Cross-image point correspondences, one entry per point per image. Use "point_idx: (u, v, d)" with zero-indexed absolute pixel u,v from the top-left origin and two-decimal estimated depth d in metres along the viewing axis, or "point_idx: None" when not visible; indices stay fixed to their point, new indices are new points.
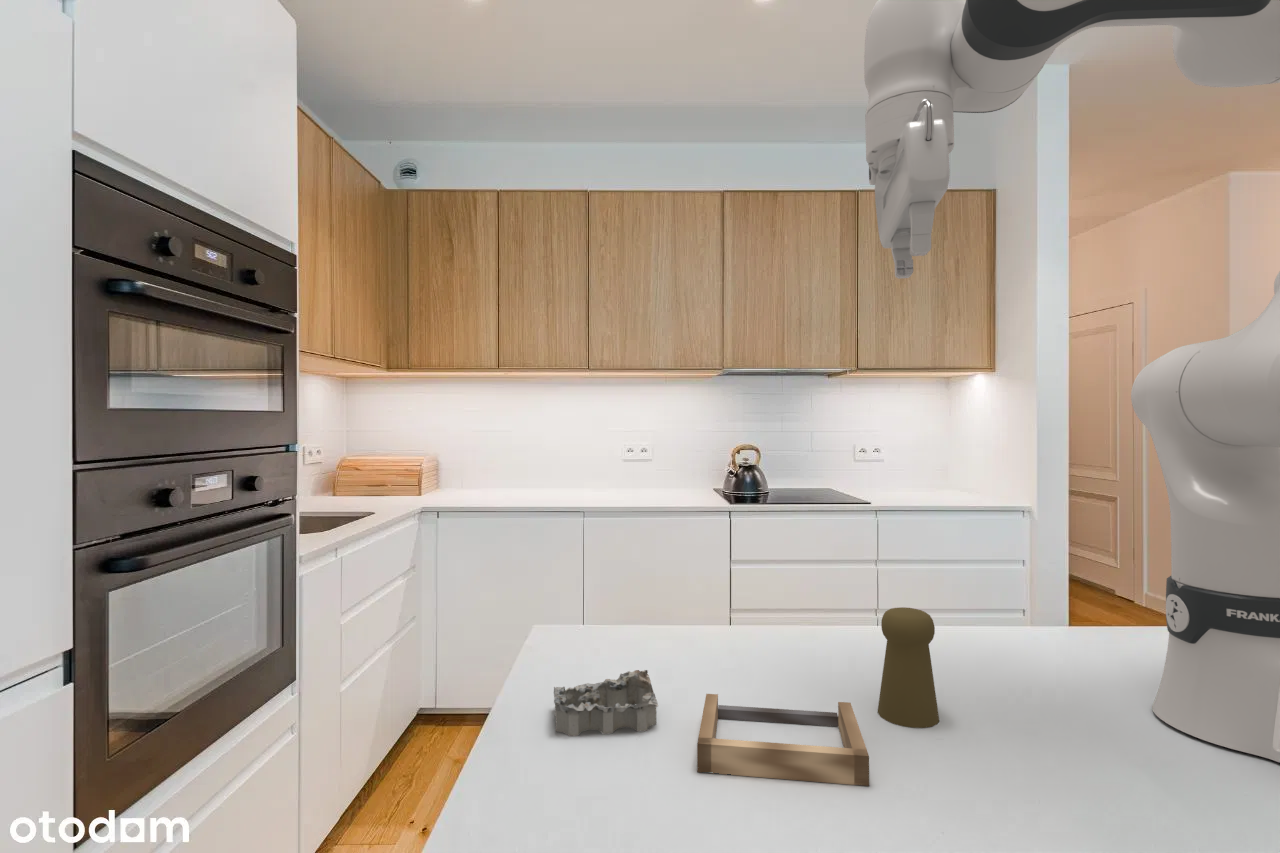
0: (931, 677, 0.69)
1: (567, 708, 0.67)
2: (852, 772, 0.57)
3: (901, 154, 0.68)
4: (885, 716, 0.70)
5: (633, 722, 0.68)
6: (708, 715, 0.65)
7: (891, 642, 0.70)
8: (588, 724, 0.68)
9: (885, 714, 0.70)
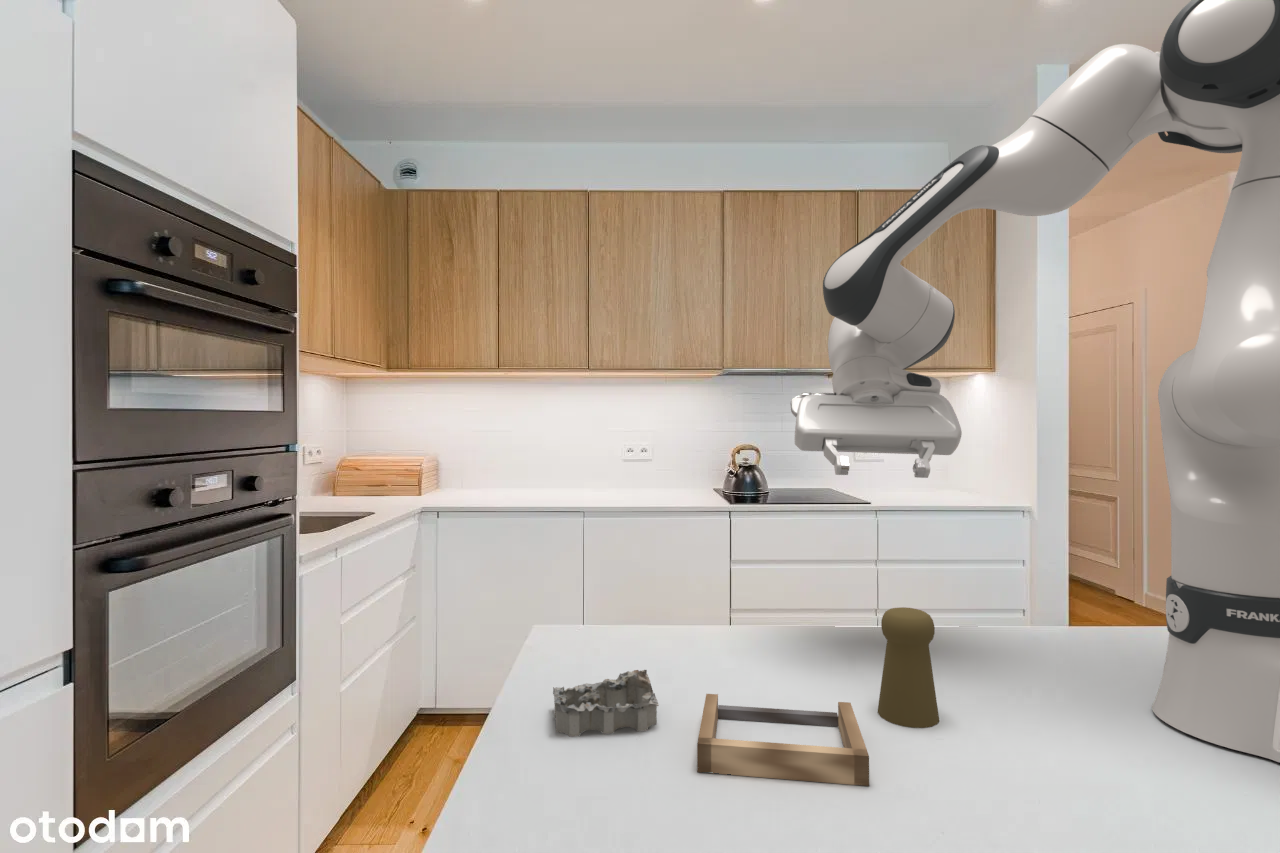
0: (931, 677, 0.69)
1: (568, 708, 0.67)
2: (852, 772, 0.57)
3: None
4: (885, 716, 0.70)
5: (634, 722, 0.68)
6: (708, 715, 0.65)
7: (891, 642, 0.70)
8: (589, 724, 0.68)
9: (885, 714, 0.70)
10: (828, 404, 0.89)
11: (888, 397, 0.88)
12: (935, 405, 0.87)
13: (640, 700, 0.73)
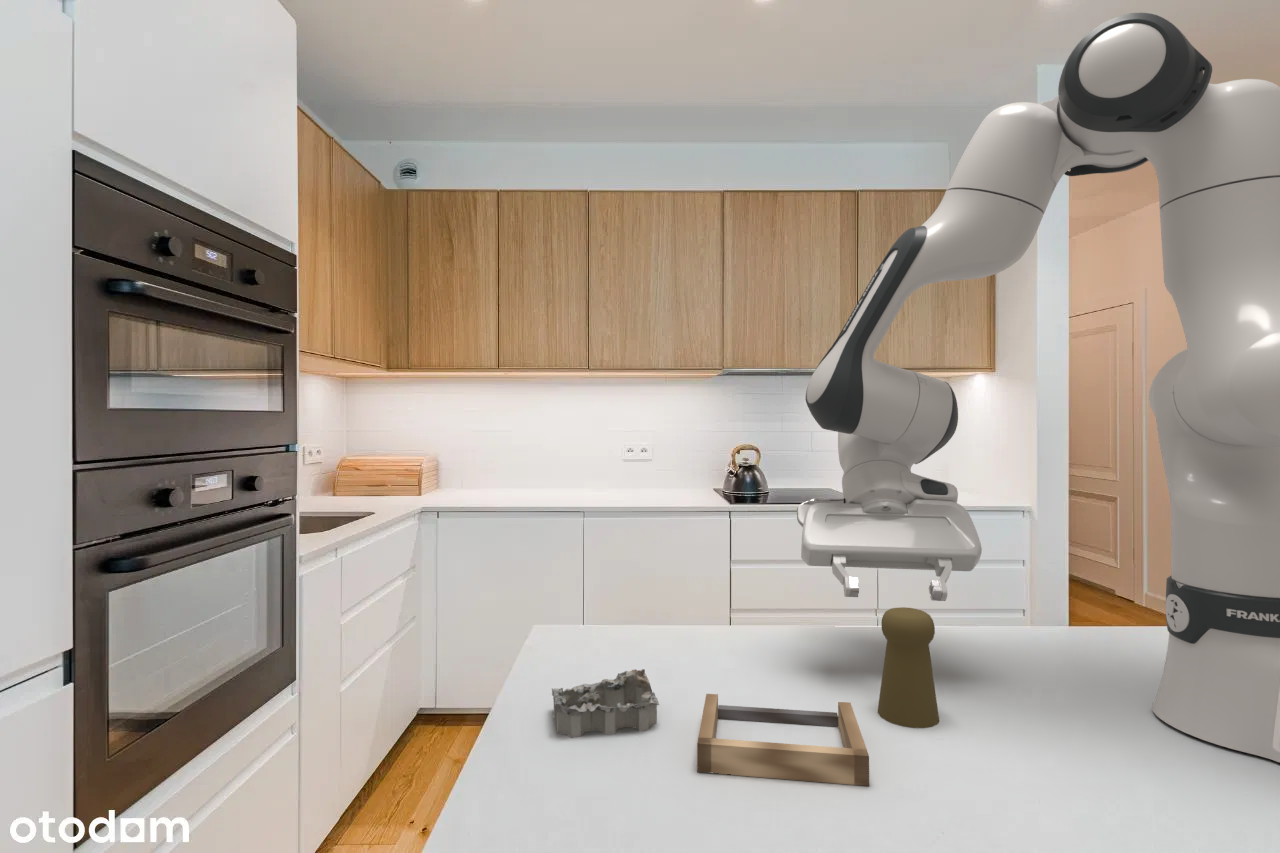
0: (931, 677, 0.69)
1: (569, 709, 0.66)
2: (852, 772, 0.57)
3: None
4: (885, 716, 0.70)
5: (634, 721, 0.68)
6: (708, 715, 0.65)
7: (891, 642, 0.70)
8: (589, 725, 0.68)
9: (885, 714, 0.70)
10: (836, 514, 0.83)
11: (901, 507, 0.82)
12: (952, 516, 0.81)
13: (638, 700, 0.74)
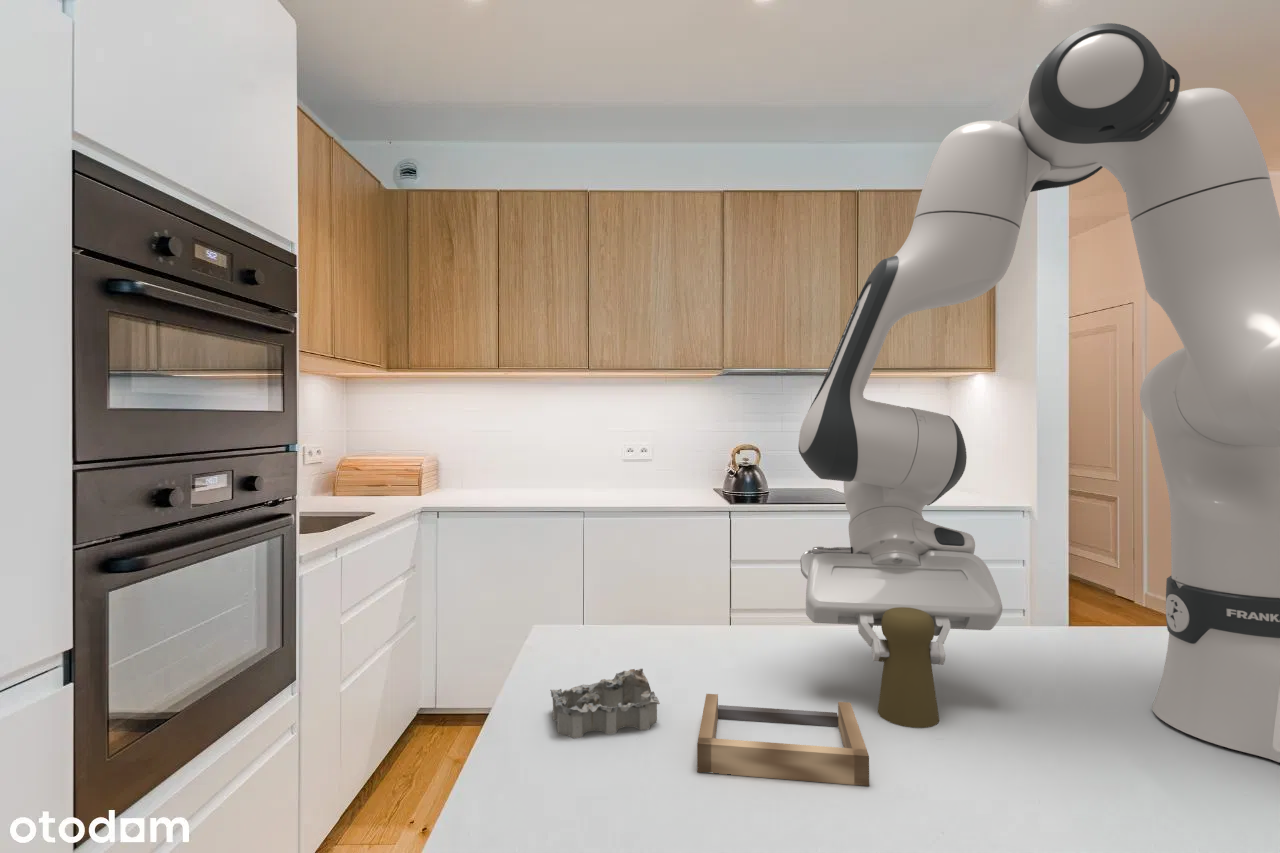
0: (931, 677, 0.69)
1: (570, 710, 0.66)
2: (852, 772, 0.57)
3: None
4: (885, 716, 0.70)
5: (635, 721, 0.68)
6: (708, 715, 0.65)
7: (891, 642, 0.70)
8: (590, 725, 0.68)
9: (885, 714, 0.70)
10: (843, 566, 0.77)
11: (913, 559, 0.76)
12: (969, 569, 0.75)
13: (637, 699, 0.74)
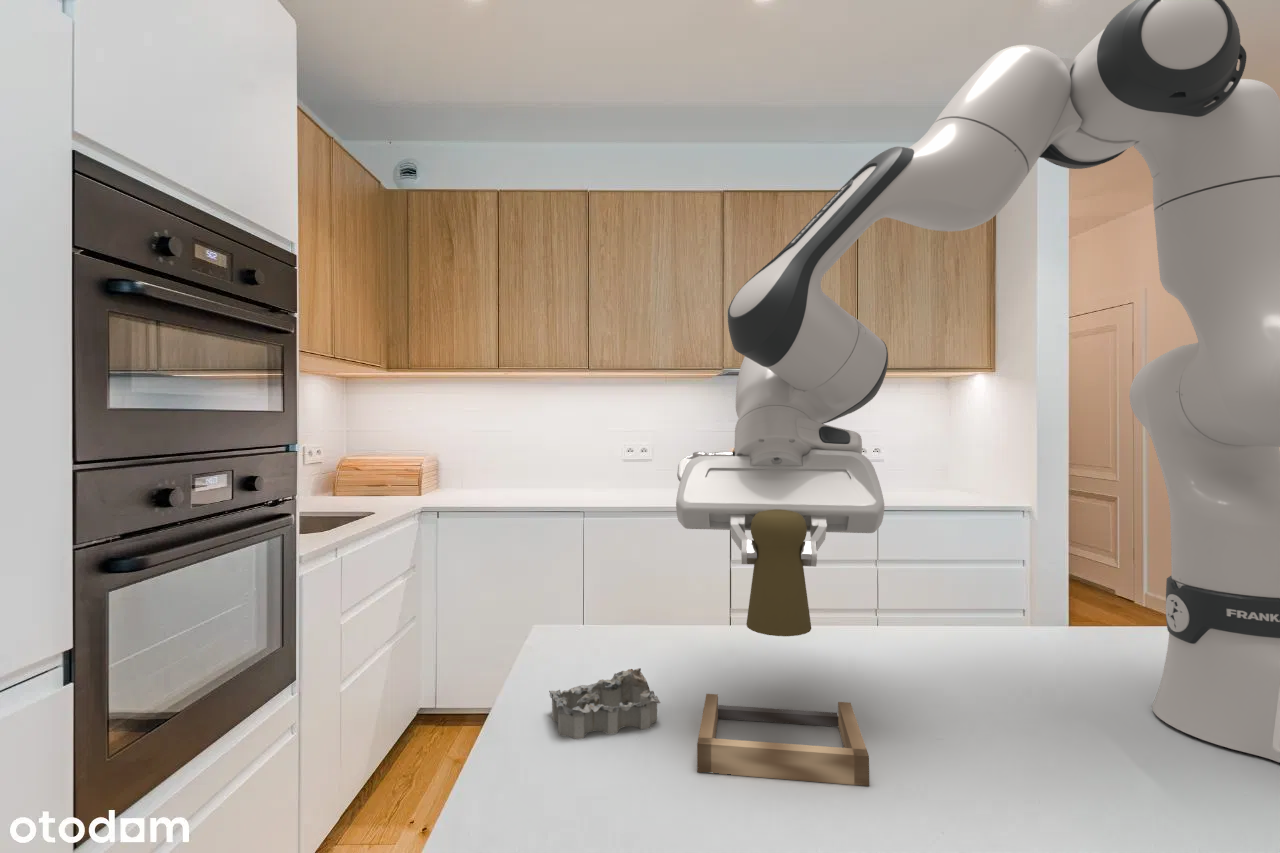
0: (801, 582, 0.63)
1: (572, 711, 0.66)
2: (852, 772, 0.57)
3: None
4: (751, 626, 0.63)
5: (636, 720, 0.68)
6: (708, 715, 0.65)
7: (758, 545, 0.64)
8: (592, 725, 0.67)
9: (751, 624, 0.63)
10: (720, 468, 0.70)
11: (794, 459, 0.69)
12: (853, 468, 0.68)
13: (635, 699, 0.74)
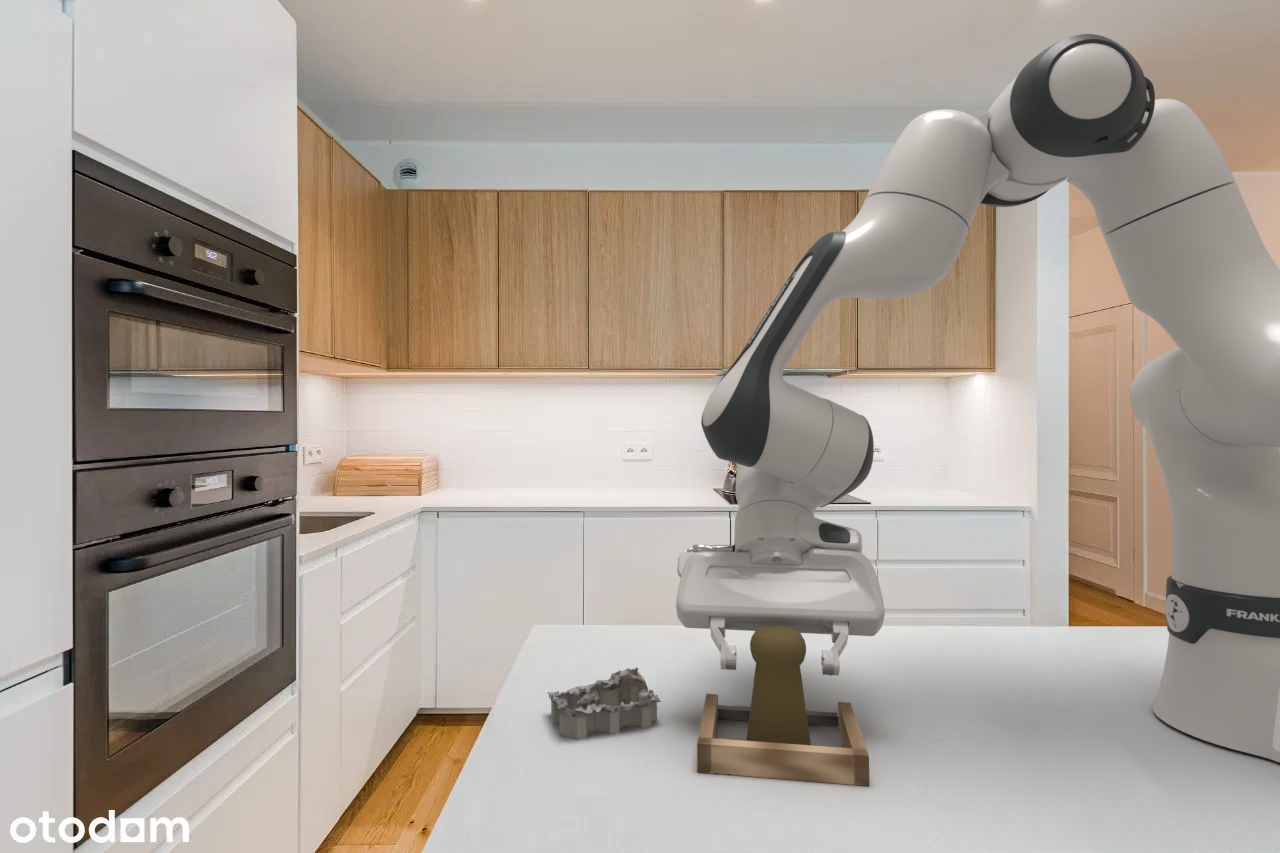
0: (800, 703, 0.63)
1: (574, 712, 0.66)
2: (852, 772, 0.57)
3: None
4: None
5: (637, 719, 0.69)
6: (708, 715, 0.65)
7: (758, 665, 0.64)
8: (593, 726, 0.67)
9: None
10: (720, 565, 0.70)
11: (794, 558, 0.69)
12: (853, 569, 0.68)
13: (633, 698, 0.74)
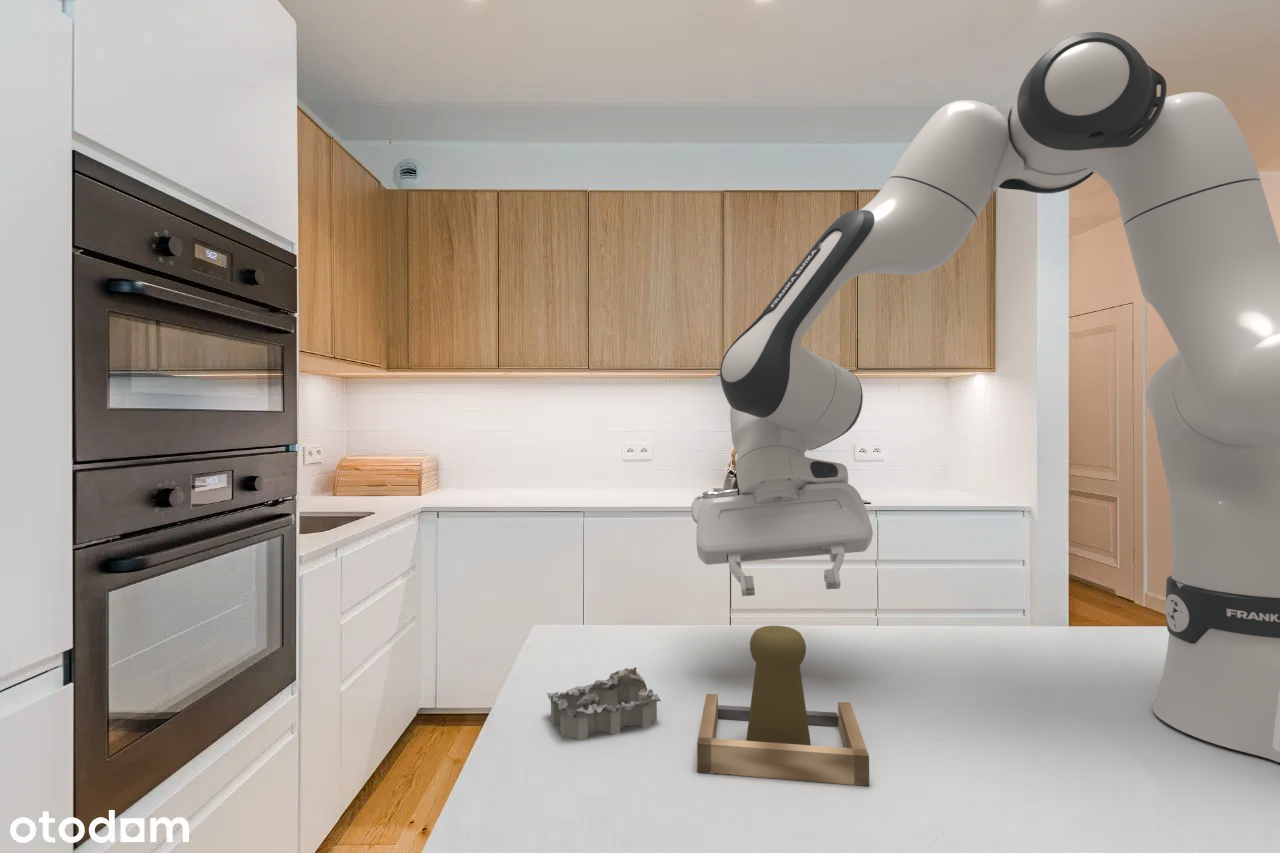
0: (800, 703, 0.63)
1: (576, 712, 0.66)
2: (852, 772, 0.57)
3: None
4: None
5: (637, 719, 0.69)
6: (708, 715, 0.65)
7: (758, 665, 0.64)
8: (594, 726, 0.67)
9: None
10: (729, 509, 0.81)
11: (792, 495, 0.80)
12: (843, 498, 0.80)
13: (631, 698, 0.74)
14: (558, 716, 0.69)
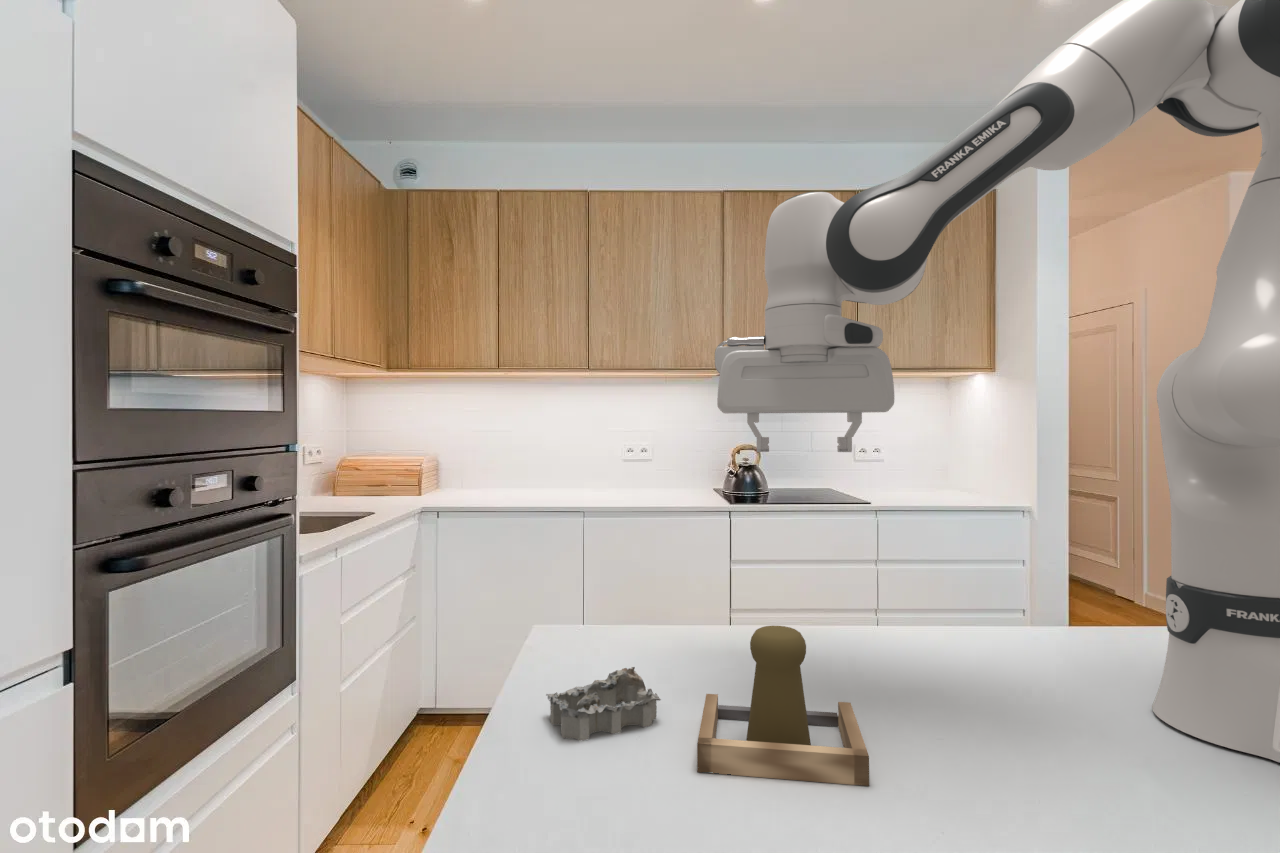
0: (800, 703, 0.63)
1: (577, 712, 0.66)
2: (852, 772, 0.57)
3: None
4: None
5: (637, 718, 0.69)
6: (708, 715, 0.65)
7: (758, 664, 0.64)
8: (595, 726, 0.67)
9: None
10: (753, 366, 0.80)
11: (820, 359, 0.78)
12: (872, 365, 0.77)
13: (630, 697, 0.74)
14: (558, 717, 0.69)
